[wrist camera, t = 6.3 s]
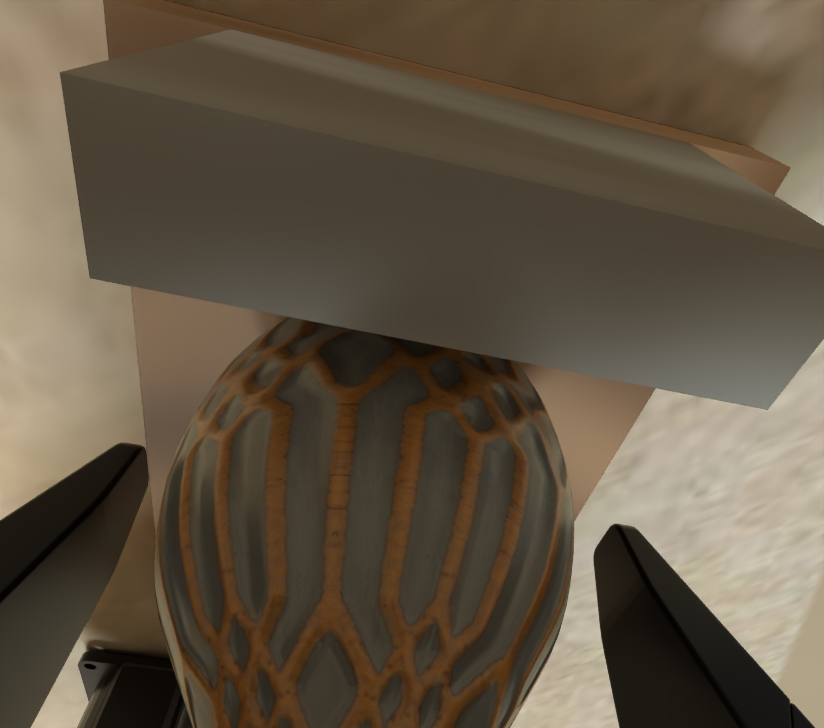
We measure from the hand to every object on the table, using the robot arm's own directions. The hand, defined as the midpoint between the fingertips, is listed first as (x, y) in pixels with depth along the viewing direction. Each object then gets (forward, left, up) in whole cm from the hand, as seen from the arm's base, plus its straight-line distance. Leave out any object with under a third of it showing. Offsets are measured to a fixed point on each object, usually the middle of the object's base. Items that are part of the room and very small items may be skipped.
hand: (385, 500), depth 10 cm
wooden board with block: (-3, 0, -5) cm, 6 cm away
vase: (0, 0, -4) cm, 4 cm away
